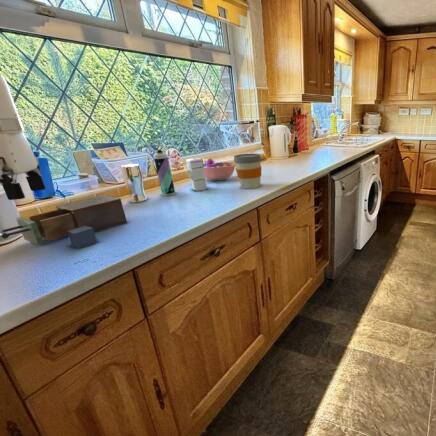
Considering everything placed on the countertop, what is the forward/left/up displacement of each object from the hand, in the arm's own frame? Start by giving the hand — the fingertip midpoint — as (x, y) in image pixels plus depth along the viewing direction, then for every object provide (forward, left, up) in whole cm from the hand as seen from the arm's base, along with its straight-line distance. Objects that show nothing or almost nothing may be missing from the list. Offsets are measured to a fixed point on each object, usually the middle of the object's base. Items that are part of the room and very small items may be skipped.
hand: (28, 194), depth 80 cm
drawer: (+2, +6, -15) cm, 16 cm away
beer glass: (+40, +25, -16) cm, 50 cm away
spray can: (+52, +22, -16) cm, 59 cm away
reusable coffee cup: (+78, -4, -16) cm, 80 cm away
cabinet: (+15, +6, -16) cm, 23 cm away
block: (+6, -7, -16) cm, 18 cm away
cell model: (+82, +23, -16) cm, 87 cm away
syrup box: (+64, +16, -16) cm, 68 cm away
